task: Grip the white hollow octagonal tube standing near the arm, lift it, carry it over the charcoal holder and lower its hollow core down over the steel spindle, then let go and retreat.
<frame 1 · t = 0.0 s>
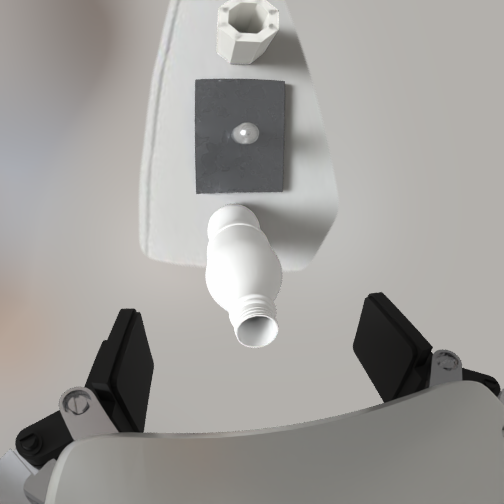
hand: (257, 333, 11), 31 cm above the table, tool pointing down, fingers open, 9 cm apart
roll holder: (239, 134, 37), on the table
water bottle: (232, 223, 42), on the table
white hollow octagonal tube: (240, 44, 31), on the table
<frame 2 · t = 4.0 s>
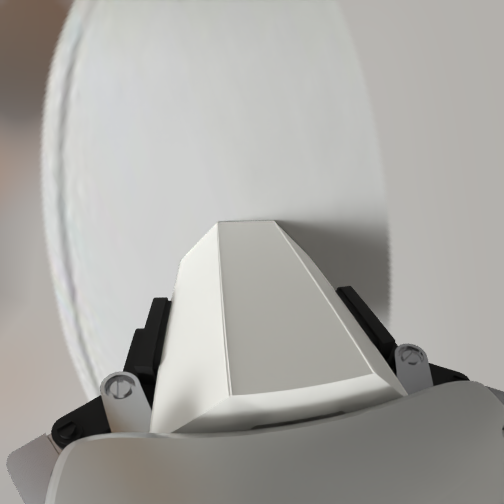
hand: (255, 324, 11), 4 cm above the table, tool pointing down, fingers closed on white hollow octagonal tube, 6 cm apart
white hollow octagonal tube: (245, 281, 15), on the table, touching gripper
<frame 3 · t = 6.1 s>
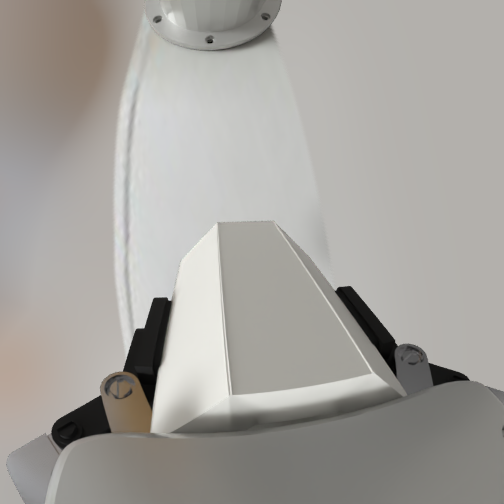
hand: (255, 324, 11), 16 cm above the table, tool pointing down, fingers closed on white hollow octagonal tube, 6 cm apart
white hollow octagonal tube: (245, 281, 15), point 12 cm above the table, touching gripper
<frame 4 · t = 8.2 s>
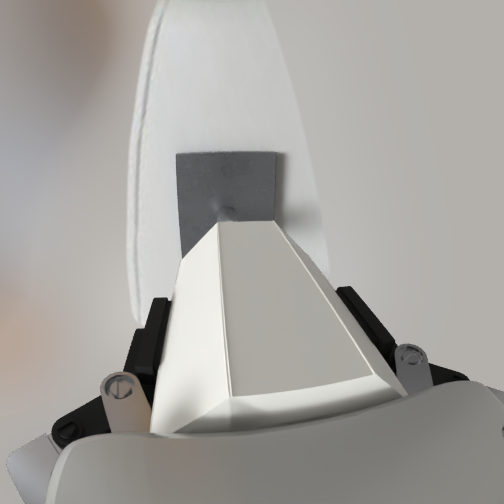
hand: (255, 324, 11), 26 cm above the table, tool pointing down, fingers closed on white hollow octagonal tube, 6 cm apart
roll holder: (226, 213, 36), on the table
white hollow octagonal tube: (245, 281, 15), point 23 cm above the table, touching gripper
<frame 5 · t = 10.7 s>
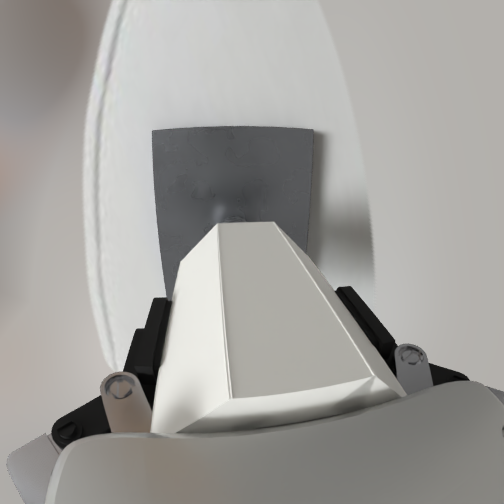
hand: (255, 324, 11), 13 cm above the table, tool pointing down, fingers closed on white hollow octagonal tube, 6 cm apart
roll holder: (233, 224, 23), on the table
white hollow octagonal tube: (245, 282, 15), point 9 cm above the table, touching gripper
when the fingers open (6 cm above the table, at t = 12.7 s): white hollow octagonal tube stays where it is, resting on roll holder.
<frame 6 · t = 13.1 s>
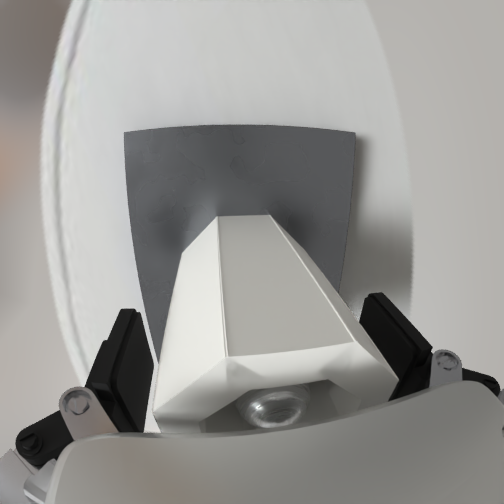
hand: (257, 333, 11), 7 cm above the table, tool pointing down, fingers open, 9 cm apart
roll holder: (241, 262, 17), on the table
white hollow octagonal tube: (243, 273, 16), point 1 cm above the table, touching roll holder
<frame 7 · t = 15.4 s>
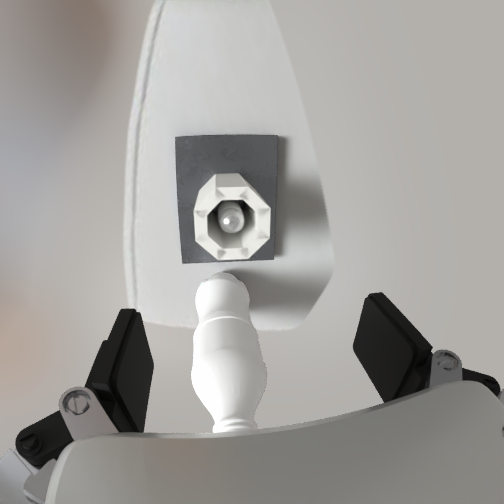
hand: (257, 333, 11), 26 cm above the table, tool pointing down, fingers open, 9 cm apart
roll holder: (226, 198, 35), on the table
water bottle: (221, 288, 40), on the table
white hollow octagonal tube: (227, 200, 34), point 1 cm above the table, touching roll holder
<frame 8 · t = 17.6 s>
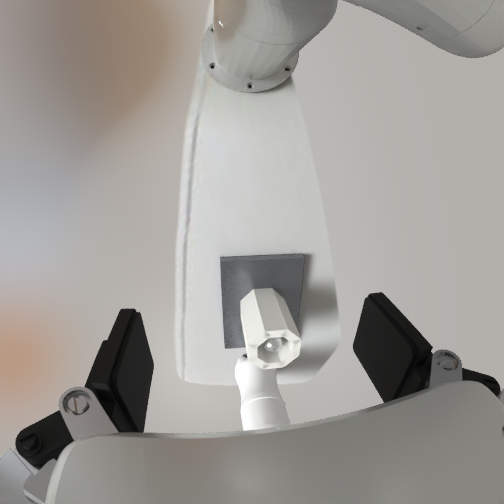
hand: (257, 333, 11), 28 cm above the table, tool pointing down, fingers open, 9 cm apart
roll holder: (260, 302, 44), on the table
water bottle: (253, 360, 49), on the table
white hollow octagonal tube: (262, 307, 43), point 1 cm above the table, touching roll holder
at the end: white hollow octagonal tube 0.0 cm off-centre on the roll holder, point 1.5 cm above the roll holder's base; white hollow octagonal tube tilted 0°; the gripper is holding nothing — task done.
